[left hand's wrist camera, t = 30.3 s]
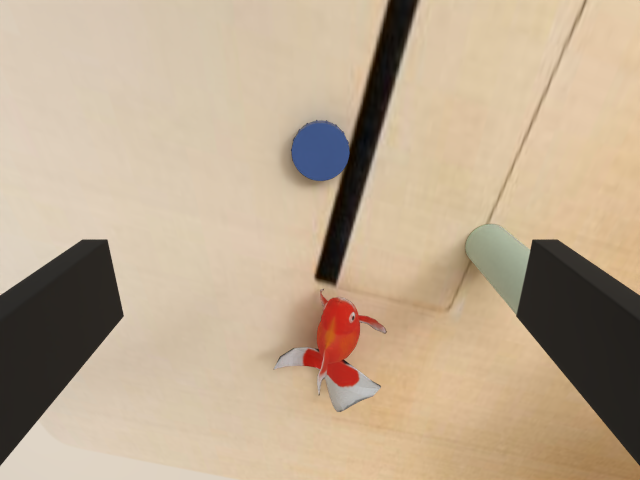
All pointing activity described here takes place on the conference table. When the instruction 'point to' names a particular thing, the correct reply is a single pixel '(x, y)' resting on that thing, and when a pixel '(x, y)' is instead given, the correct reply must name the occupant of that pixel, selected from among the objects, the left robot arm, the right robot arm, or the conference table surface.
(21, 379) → the left robot arm
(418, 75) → the conference table surface
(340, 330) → the fish
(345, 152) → the lid
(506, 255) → the green bottle
